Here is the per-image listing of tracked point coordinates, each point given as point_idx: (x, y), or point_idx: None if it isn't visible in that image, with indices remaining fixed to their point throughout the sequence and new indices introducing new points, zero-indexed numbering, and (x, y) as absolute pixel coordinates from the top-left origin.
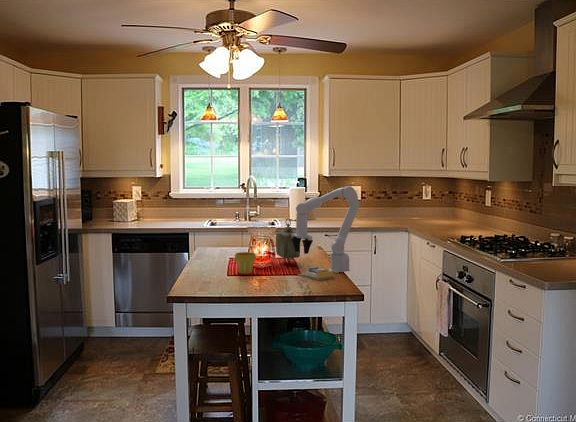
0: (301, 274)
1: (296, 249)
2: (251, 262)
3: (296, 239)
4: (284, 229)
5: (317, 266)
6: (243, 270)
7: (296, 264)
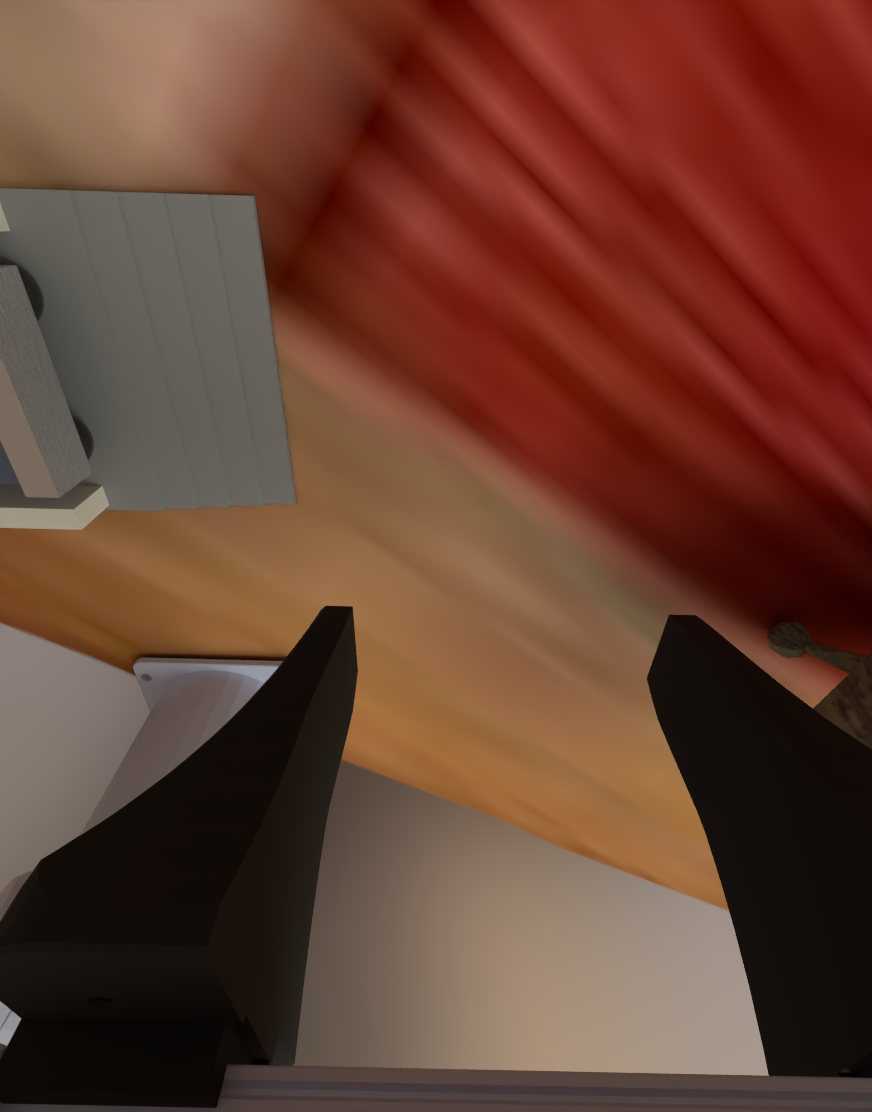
0: (159, 218)
1: (686, 665)
2: None
3: (856, 974)
4: None
5: (32, 492)
6: None
7: (770, 631)
